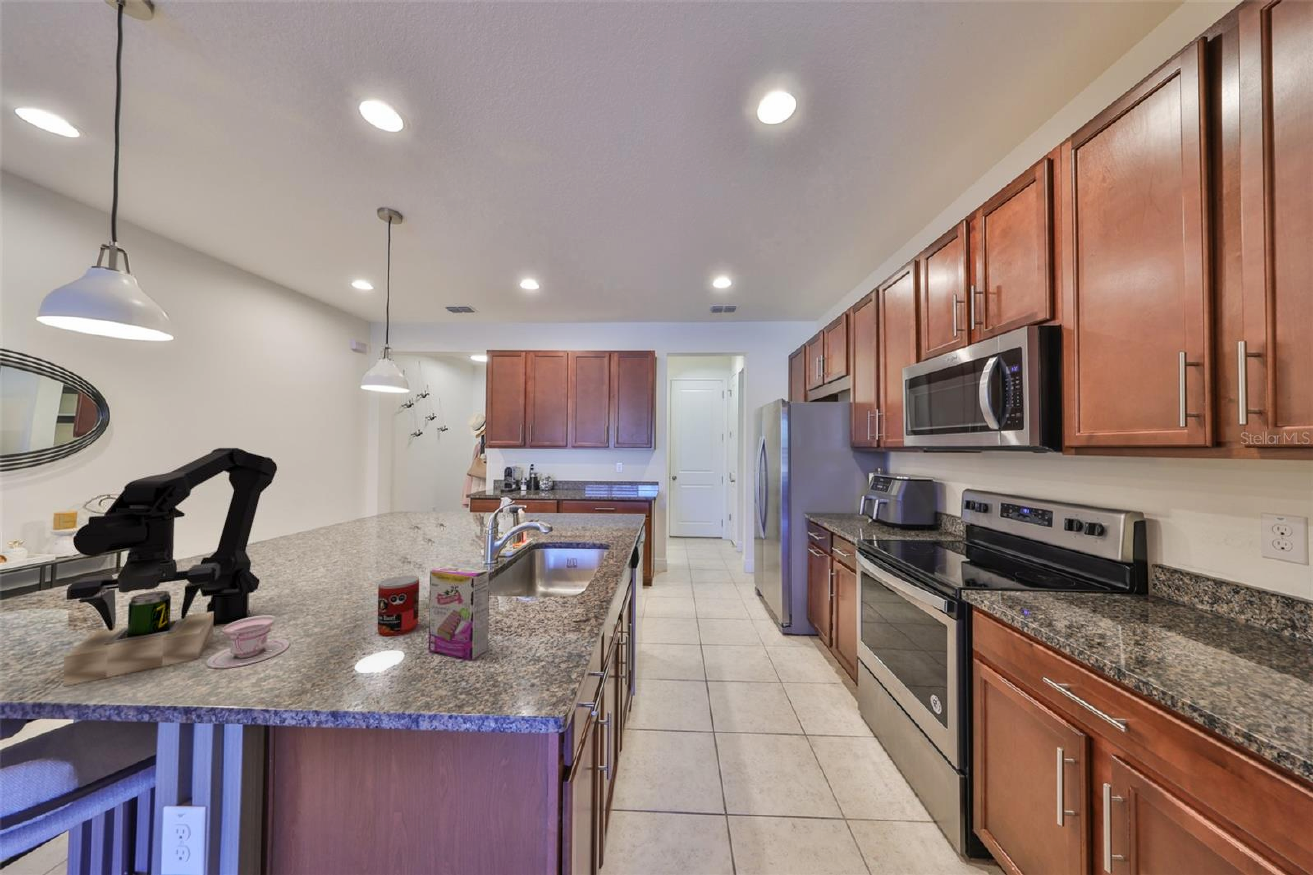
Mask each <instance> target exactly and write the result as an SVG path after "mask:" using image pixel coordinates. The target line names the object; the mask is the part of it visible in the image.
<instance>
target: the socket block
mask: <svg viewBox="0 0 1313 875" xmlns="http://www.w3.org/2000/svg"><path fill="white" fill-rule="evenodd" d="M213 619H214V611H212V612H207V611H206V612H202V613H201V612H200V613H195V614H190V615H188V614H187V615H186V617H185V618H184V619H181V616H176V617H175V616H174V617H170V630H169V631H166V632H160V633H154V634H148V635H142V636H137V637H131V638H127V630H128V624H127V625H121V626H120V625H119V626H115V628H114V630H112V631H109V629H108V628H107V627H106V628H101V629H97V630H96V631H95V632H93V634H90V636H88V637H87V638H86V639H85V640H84V641H82V642H81V643H80V644H78V645H77V646H76V647H75V648H73V650H70V652H69V653H67V654H66V655H65V656H64V661H63V663H64V664H63V679H62V680H63V681H62V687H69V686H72V685H77V684H82V683H86V682H87V683H88V682H91V681H92V682H93V681H97V680H103V679H107V678H111V677H115V676H116V675H117V676H121V674H122V675H126V674H125V673H127V674H131V673H135V672H136V673H137V672H141V671H146V670H151V669H155V668H160V667H165V665H166V666H170V664H171V665H176V664H180V663H185V662H189V661H194V660H199V659H200V657H201V655H202V654H203V652H204V650H205V648H206V647H207V646H208V644H209V642H210V640H211V638H212V637H213V636H214V625H213ZM117 676H116V677H117Z"/></svg>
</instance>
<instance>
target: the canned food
mask: <svg viewBox="0 0 1313 875" xmlns="http://www.w3.org/2000/svg"><path fill="white" fill-rule="evenodd" d="M377 588H378V590H377V591H378V592H377V594H378V595H377V632H378V634H379V635H380V636H383V637H394V636H400V635H404V634H407V633H409V632H411V631H414V630H415V629H416V628H417V627H418V624H419V614H420V613H419V612H420V610H419V609H420V606H419V605H420V603H419V602H420V578H419V576H415V575H400V576H394V577H389V578H386V579H383V580H381V581H379V583H378V587H377Z"/></svg>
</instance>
